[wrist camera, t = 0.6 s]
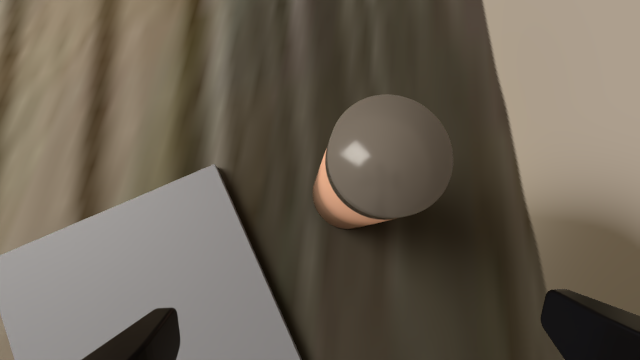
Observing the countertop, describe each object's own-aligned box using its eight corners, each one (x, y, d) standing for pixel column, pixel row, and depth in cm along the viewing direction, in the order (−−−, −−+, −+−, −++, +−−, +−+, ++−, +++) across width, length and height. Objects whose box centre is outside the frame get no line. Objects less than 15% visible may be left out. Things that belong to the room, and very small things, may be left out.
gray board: (305, 368, 19) (306, 374, 18) (72, 500, 17) (61, 512, 16) (217, 167, 21) (214, 164, 20) (-3, 261, 19) (-16, 261, 18)
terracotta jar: (386, 224, 21) (465, 208, 12) (317, 233, 21) (338, 225, 11) (375, 156, 22) (439, 89, 13) (308, 164, 22) (321, 99, 12)
